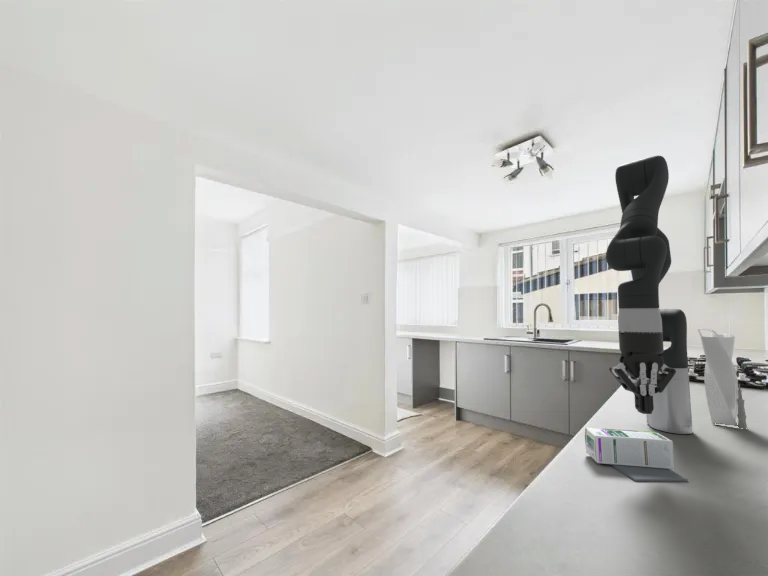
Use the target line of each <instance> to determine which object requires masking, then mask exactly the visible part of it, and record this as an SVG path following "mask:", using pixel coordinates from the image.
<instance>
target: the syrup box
mask: <svg viewBox="0 0 768 576" xmlns="http://www.w3.org/2000/svg"><path fill="white" fill-rule="evenodd" d="M584 444H585V445H584V446H585V453H586V454H588V455H589V456H590V458H591V459H593V461H594V462H595V463H596V464H604V465H610V464H614V465H626V466H638V467H651V468H663V469H669V470H674V469H675V456H674V453H675V452H674V442H673V440H672V439H669V438H668V437H666V436H664V435H662V434H661V433H659V432H657V431H646V430H644V431H643V430H632V429H630V430H629V429H614V428H612V429H611V428H600V427H599V428H597V427H595V428H594V427H585V429H584Z"/></svg>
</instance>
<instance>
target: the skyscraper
mask: <svg viewBox="0 0 768 576" xmlns="http://www.w3.org/2000/svg"><path fill="white" fill-rule="evenodd" d="M701 330H702V331H708V332H709V331H710V332H711V333H709V334H710V335H708V336H707V335H702V333H701ZM697 332H698V333H699V337H700V340H701V344H702V349H703V353H704V357H705V359H706V360H705V366H704V373H703V374H704V391H705V397H706V403H707V408H708V412H709V420H710V419H711V421H712V422H711V421H710V422H711V424H712V425H713V426H715V423H716V424H725V425H734V426H738V427H739V428H743V429H746V428H747V429H748V426H747V415H746V410H745V399H743V394H742V393H743V392H742V389H741V383H739V382H738V377H737V376H738V375H737V372H736V369H735V366H734V362H733V360H732V359H733V356H734V355H733V354H734V348H735V345H734V344H735V340H736V339H735V337H736V336H735V335H733V334H729V333H717V332H716V331H715V330H713V329H711V328H706V327H701V328H698V329H697ZM736 421H737V422H736ZM737 423H738V425H737Z"/></svg>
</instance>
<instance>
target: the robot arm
mask: <svg viewBox="0 0 768 576" xmlns="http://www.w3.org/2000/svg"><path fill="white" fill-rule="evenodd" d="M614 175H615V185H616V191H617V195H618V199H619V205H620V209H621V213H622V214H621V219H620V225H619V229H618V231H617V232H616V233H615V235H614V236H613V238H612V239H611V240H610V242H609V244H608V246H607V248H606V252H605V260H606V263H607V265H608V266H609V267H610V268H611V269H612V270H614V271H617V272H627V271H630V272H631V278H632V280H628V281H624V282H621V283H619V285H618V286H617V296H618V297H617V298H618V299H617V300H618V316H617V323H618V325H617V327H618V344H619V345H618V346H619V351H620V352H621V354H620V357H619V359H618V361H619V362H618V364H616V365H615V366H611V367H609V372H610V373H611V375H613V377H614V378H615V379H616V381H618V383H619V385H621V386H622V388H623V389H624V390H625V391H628V392H631V393H633V395H634V406H635V407H634V408H635V410H636V411H637V412H638V413H640V414H643V415H646V424H648V425H649V426H650V427H651V428H652V429H655V430H658V431H660V432H661V431H662V432H666V433H669V434H670V433H671V434H677V435H678V434H679V435H690V434H693V432H694V431H693V420H692V419H693V418H692V417H693V416H692V402H691V389H690V388H691V387H690V375H689V374H690V373H689V363H688V361H689V359H688V339H687V338H688V323H687V317H686V314H685V313H684V311H683V310H682V309H678V308H665V309H664V308H660V297H659V293H660V291H659V286H660V283H661V282H662V280H663V279H664V277H665V276H666V274H667V273H668V271H669V270H670V267H671V265H672V255H671V247H670V241H669V239H668V237H667V236H666V234H665V233H664V232H663V230H661V229H660V228H659V227H658V224H659V223H658V222H659V213H660V212H659V211H660V207H661V205H662V203H663V199H664V197H665V194H666V191H667V188H668V184H669V179H670V178H669V175H670V173H669V166H668V162H667V161H666V158H665V157H664V156H662V155H652V156H649V157H645V158H641V159H640V158H639V159H637V160H634V161H630V162H627V163H624V164H619V165H618V166H617V168H616V170H615V174H614ZM664 342H667V343H671V344H670V346H669V347H668V348H666V349H664ZM627 374H628V375H627Z"/></svg>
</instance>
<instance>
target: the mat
mask: <svg viewBox="0 0 768 576" xmlns="http://www.w3.org/2000/svg"><path fill="white" fill-rule="evenodd" d="M609 465H610V466H611V467H613V468H614V469H616V470H617V471H619V472H620V473H622V474H623V475H625V476H627V478H629V479H631V480H633V481H634V482H676V483H677V482H685V483H686V482H688V481H689V480H688V478H686V477H684V476H682V475H681V474H679V473H677V472H675V471H672V469H663V468H651V467H638V466H626V465H614V464H609Z"/></svg>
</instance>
